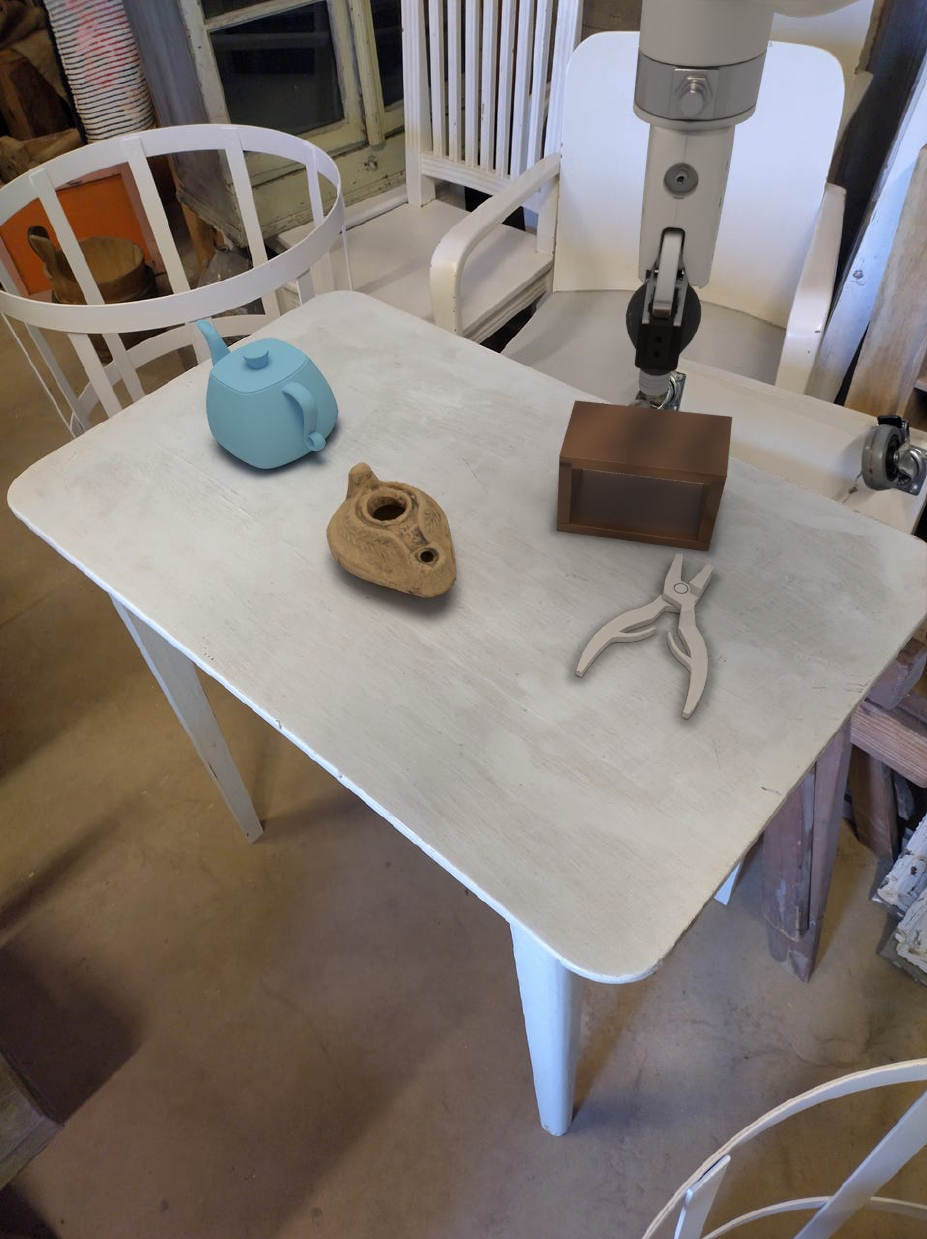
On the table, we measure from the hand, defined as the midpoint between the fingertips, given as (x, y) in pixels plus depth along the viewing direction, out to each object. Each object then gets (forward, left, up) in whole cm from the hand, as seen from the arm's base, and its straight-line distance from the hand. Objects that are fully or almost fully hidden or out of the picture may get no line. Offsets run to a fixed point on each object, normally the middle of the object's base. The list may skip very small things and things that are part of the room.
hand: (660, 342), depth 64 cm
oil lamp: (+20, +11, -18) cm, 29 cm away
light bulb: (0, 0, -5) cm, 5 cm away
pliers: (-4, +14, -18) cm, 23 cm away
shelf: (0, 0, -18) cm, 18 cm away
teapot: (+40, -5, -18) cm, 44 cm away
